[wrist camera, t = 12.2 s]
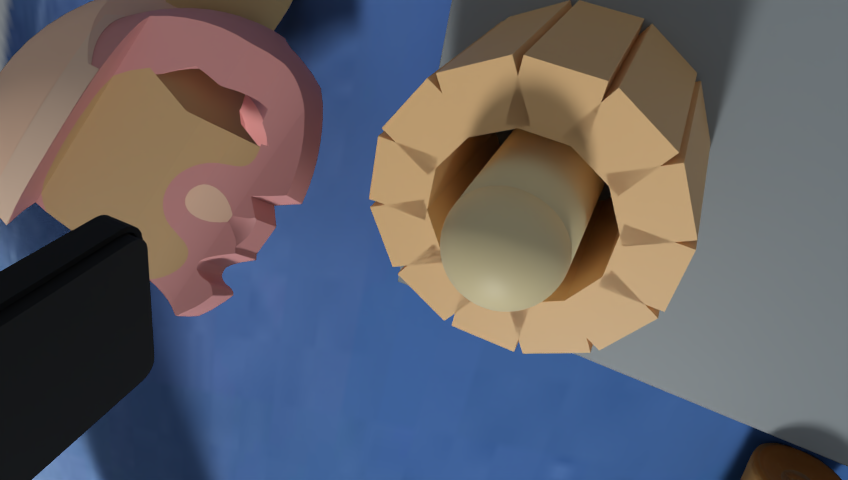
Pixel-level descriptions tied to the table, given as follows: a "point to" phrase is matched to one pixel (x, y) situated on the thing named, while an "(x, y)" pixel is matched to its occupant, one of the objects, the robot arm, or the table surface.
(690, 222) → the collar
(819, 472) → the kendama
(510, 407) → the table surface
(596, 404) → the table surface
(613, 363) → the board
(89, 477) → the table surface
